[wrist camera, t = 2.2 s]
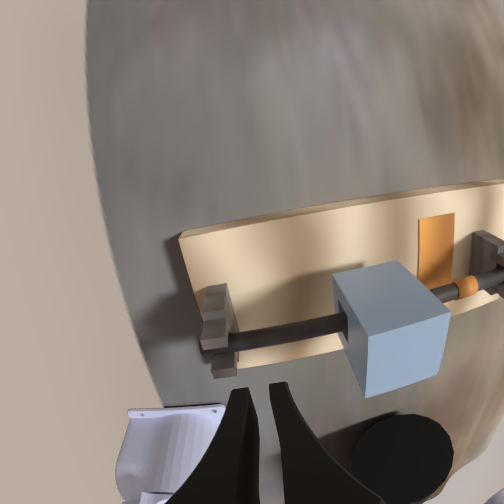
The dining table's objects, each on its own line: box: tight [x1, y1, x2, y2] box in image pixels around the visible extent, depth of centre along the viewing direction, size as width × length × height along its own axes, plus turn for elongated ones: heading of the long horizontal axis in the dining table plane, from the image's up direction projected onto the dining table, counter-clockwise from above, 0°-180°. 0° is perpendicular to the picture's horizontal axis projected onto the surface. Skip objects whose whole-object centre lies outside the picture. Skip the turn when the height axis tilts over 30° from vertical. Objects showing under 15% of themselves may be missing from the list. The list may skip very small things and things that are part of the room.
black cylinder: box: [350, 414, 454, 504], centre depth 28 cm, size 10×34×10 cm, turn 11°
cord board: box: [178, 179, 504, 379], centre depth 17 cm, size 24×10×6 cm, turn 101°
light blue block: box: [332, 260, 451, 398], centre depth 14 cm, size 4×4×6 cm
